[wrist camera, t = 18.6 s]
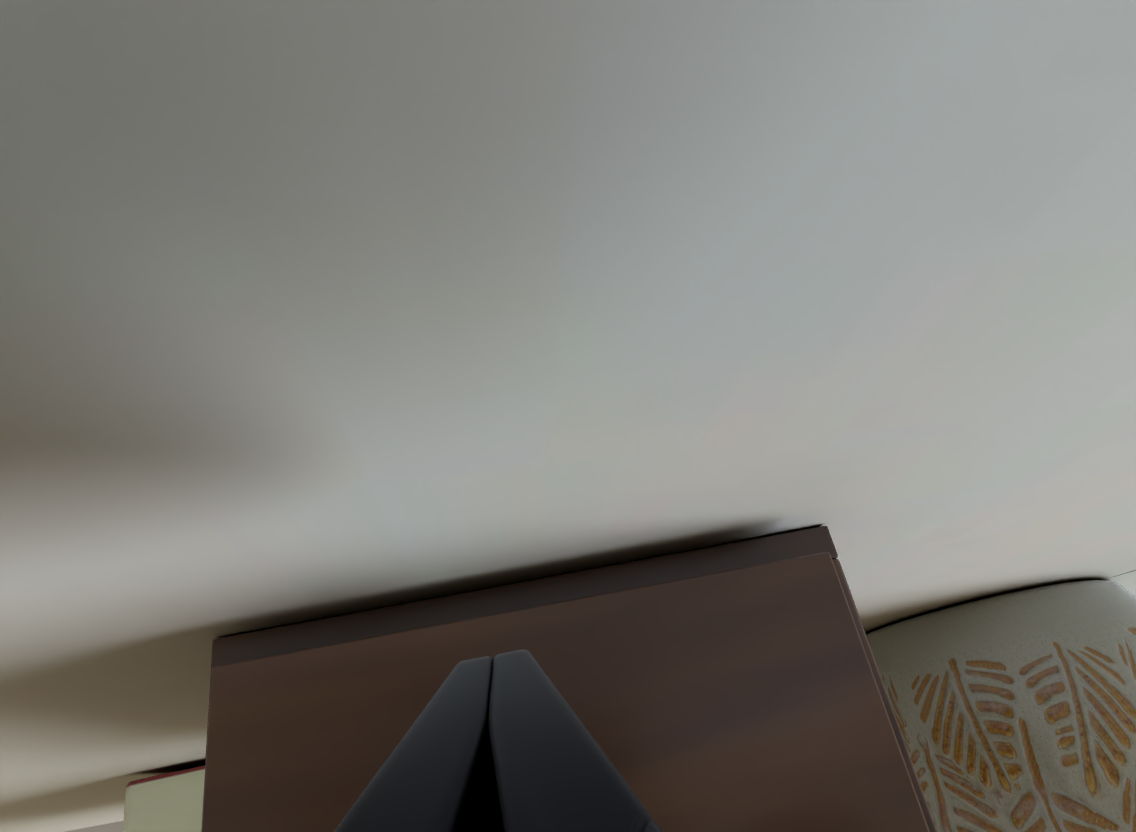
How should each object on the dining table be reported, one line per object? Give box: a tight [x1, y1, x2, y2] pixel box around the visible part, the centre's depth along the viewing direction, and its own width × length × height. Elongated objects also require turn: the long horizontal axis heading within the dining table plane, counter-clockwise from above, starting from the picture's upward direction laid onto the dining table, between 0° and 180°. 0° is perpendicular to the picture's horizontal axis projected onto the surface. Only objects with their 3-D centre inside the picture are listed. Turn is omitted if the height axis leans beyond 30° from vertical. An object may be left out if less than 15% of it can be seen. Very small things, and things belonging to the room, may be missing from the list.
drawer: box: [201, 552, 930, 832], centre depth 18 cm, size 14×13×7 cm
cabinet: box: [211, 526, 937, 832], centre depth 20 cm, size 14×15×9 cm
